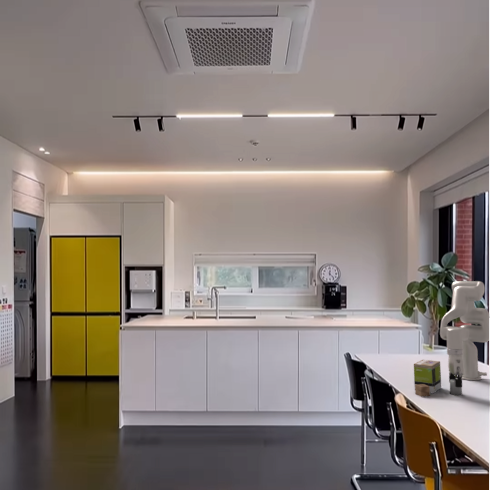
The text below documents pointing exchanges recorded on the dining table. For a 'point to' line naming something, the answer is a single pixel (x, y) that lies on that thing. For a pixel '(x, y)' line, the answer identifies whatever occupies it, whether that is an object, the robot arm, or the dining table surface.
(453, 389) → the grey upright cylinder
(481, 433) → the dining table surface
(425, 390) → the walnut block
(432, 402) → the dining table surface
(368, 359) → the dining table surface
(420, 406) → the dining table surface
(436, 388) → the tea box
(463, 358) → the robot arm
